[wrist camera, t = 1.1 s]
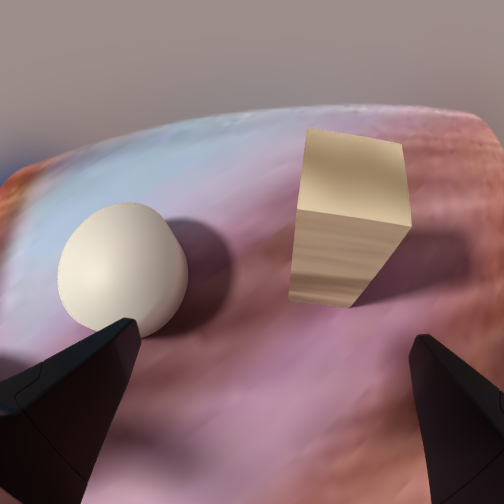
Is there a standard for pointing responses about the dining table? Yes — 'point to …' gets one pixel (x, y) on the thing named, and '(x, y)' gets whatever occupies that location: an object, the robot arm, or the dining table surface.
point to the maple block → (346, 216)
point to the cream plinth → (123, 269)
